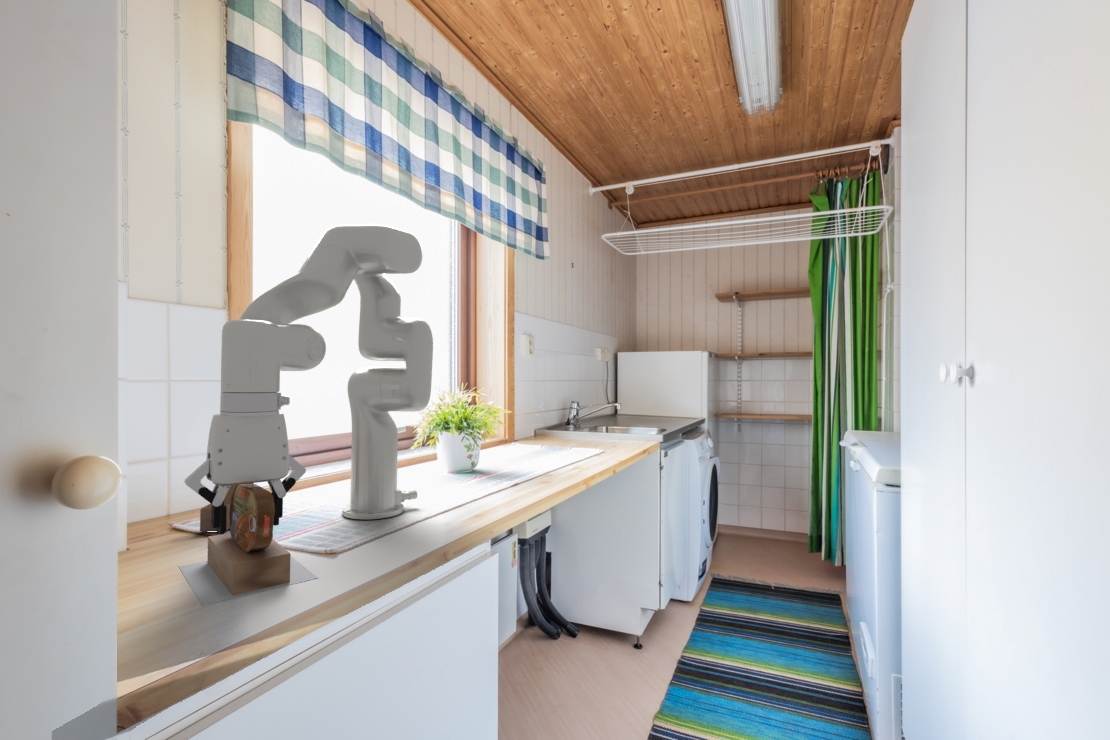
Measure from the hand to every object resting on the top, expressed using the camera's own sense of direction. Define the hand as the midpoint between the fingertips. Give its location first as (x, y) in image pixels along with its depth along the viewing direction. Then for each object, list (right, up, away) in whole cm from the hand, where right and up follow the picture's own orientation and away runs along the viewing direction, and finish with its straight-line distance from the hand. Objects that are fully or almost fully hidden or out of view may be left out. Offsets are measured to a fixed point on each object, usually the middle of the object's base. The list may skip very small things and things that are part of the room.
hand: (247, 526), depth 78 cm
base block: (0, -7, 0) cm, 7 cm away
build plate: (0, -8, 0) cm, 8 cm away
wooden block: (-19, -8, +26) cm, 33 cm away
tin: (0, -3, 0) cm, 3 cm away
